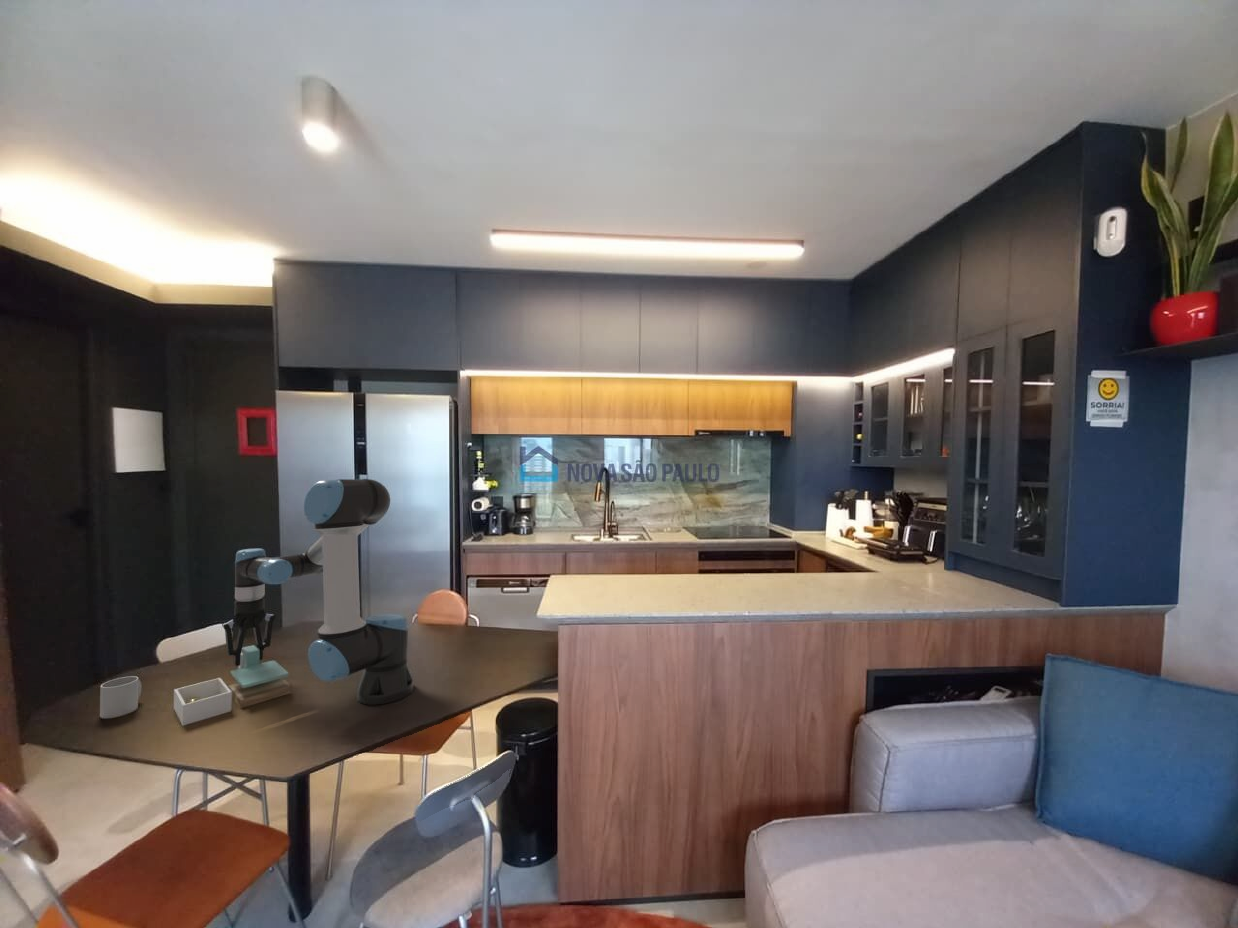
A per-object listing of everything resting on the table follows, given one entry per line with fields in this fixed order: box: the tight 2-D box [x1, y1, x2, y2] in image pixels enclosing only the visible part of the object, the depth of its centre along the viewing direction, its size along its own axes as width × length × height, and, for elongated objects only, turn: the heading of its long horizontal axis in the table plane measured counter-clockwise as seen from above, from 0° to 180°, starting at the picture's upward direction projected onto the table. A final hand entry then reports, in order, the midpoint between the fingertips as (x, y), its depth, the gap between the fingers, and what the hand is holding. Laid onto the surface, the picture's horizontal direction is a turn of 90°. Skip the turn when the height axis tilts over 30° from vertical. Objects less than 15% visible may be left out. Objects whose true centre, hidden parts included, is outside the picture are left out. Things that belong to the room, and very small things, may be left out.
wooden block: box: [228, 677, 292, 709], centre depth 142 cm, size 14×12×3 cm
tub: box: [173, 677, 233, 726], centre depth 132 cm, size 14×10×6 cm
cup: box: [99, 675, 142, 719], centre depth 132 cm, size 7×10×9 cm
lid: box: [230, 644, 290, 688], centre depth 144 cm, size 21×11×6 cm, turn 50°
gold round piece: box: [187, 697, 200, 703], centre depth 133 cm, size 3×3×2 cm
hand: (248, 672), depth 150 cm, fingers closed on lid, 3 cm apart
